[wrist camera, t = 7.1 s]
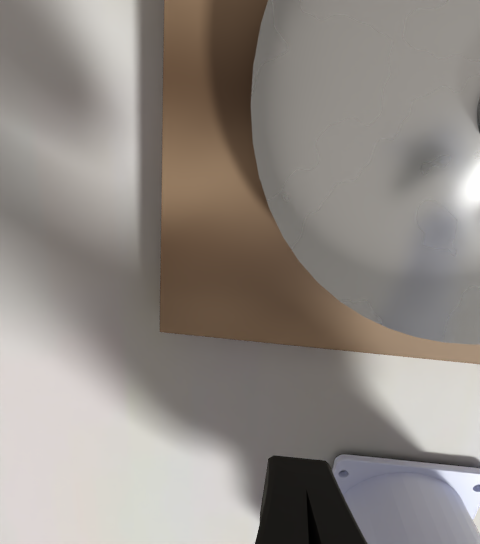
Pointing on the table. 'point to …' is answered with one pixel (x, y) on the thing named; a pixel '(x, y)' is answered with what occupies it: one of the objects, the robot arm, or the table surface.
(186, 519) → the table surface
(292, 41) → the dial
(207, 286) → the stand
